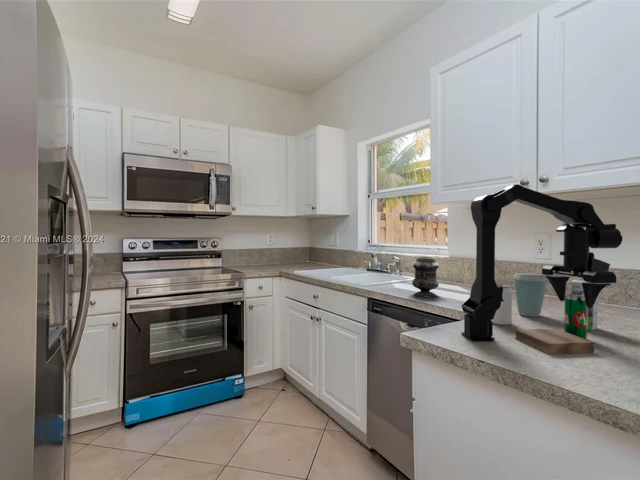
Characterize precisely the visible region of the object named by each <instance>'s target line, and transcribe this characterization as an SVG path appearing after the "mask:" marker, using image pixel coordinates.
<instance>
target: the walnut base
mask: <svg viewBox="0 0 640 480" xmlns="http://www.w3.org/2000/svg"><path fill="white" fill-rule="evenodd" d="M515 339H516V340H518V341H520V342H522V343H523V344H526V345H528V346H530V347H533V348H535V349H537V350H538V351H541V352H543V353H545V354H547V355H558V354H562V355H563V354H587V353H590V354H591V353H595V342H594V341H592V340H589V339H587V338H586V339H584V338H581V337H578V336H575V335H573V334H570V333H567V332H564V330H561V329H559V328H531V329H530V328H529V329H527V328H526V329H515Z"/></svg>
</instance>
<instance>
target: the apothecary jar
mask: <svg viewBox="0 0 640 480" xmlns="http://www.w3.org/2000/svg"><path fill="white" fill-rule="evenodd" d="M412 268H413V269H414V271H415V273H414V279H412V281H411V284H412V286H413V287H414V288H417V289H418V290H420V291H417V292H415V293H414V296H416V295H417V296H416V297H421V296H429V297H428V298H431V297H430V296H435V297H437V294H436V293H434V292H432V291H433V290H435V289H438V287H439V285H440V282H439V280H437V270H438V269H439V268H440V264H439V263H438V261H437V260H436V257H434V256H428V255H427V256H424V255H423V256H422V255H421V256H419V255H418V256H416V258H415V261H414V262H413V263H412Z"/></svg>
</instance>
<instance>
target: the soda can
mask: <svg viewBox="0 0 640 480" xmlns="http://www.w3.org/2000/svg"><path fill="white" fill-rule="evenodd" d="M563 312H564V317H563V320H564V323H563V324H564V325H563V331H564V332H567V333H570V334H573V335H575V336H578V337H581V338H584V339H586V340H587V338H588V337H587V336H588V335H587V334H588V330H587V305H586V301H585V296H584V295H579V294H570V293H565V299H564V311H563Z"/></svg>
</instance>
